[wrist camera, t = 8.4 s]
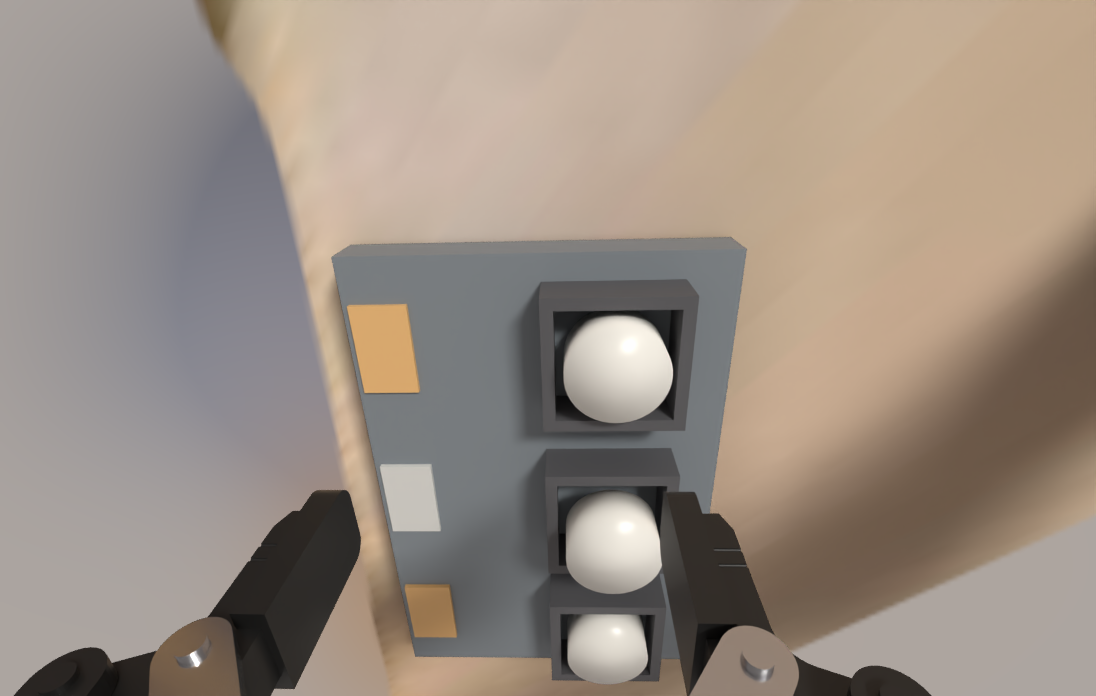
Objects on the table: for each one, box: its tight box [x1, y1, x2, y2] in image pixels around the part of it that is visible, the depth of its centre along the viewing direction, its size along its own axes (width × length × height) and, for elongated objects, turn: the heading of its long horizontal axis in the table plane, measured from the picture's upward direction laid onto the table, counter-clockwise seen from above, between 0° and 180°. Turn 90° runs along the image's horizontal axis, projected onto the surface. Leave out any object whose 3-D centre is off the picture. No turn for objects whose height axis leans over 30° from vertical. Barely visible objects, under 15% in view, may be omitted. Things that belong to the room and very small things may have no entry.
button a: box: [563, 310, 673, 423], centre depth 19 cm, size 4×4×2 cm
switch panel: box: [331, 237, 747, 681], centre depth 25 cm, size 16×24×4 cm, turn 1°
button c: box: [567, 614, 648, 684], centre depth 26 cm, size 4×4×2 cm
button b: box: [566, 489, 662, 594], centre depth 22 cm, size 4×4×2 cm
